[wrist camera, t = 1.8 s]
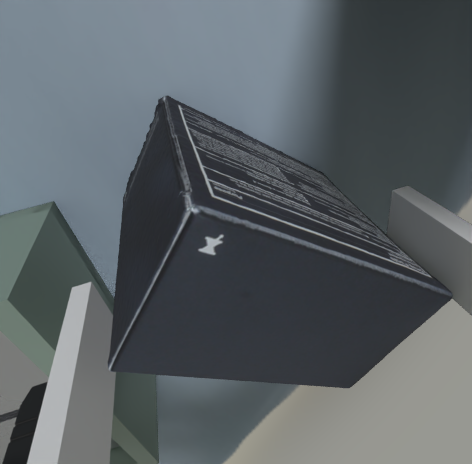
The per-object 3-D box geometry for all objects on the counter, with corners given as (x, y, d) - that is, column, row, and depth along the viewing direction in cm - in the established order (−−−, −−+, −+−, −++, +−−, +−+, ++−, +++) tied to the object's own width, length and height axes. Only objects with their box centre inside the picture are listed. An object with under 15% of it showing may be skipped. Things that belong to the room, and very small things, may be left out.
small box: (117, 204, 17) (93, 384, 9) (161, 89, 15) (185, 191, 6) (271, 252, 22) (351, 399, 14) (326, 171, 19) (466, 292, 11)
